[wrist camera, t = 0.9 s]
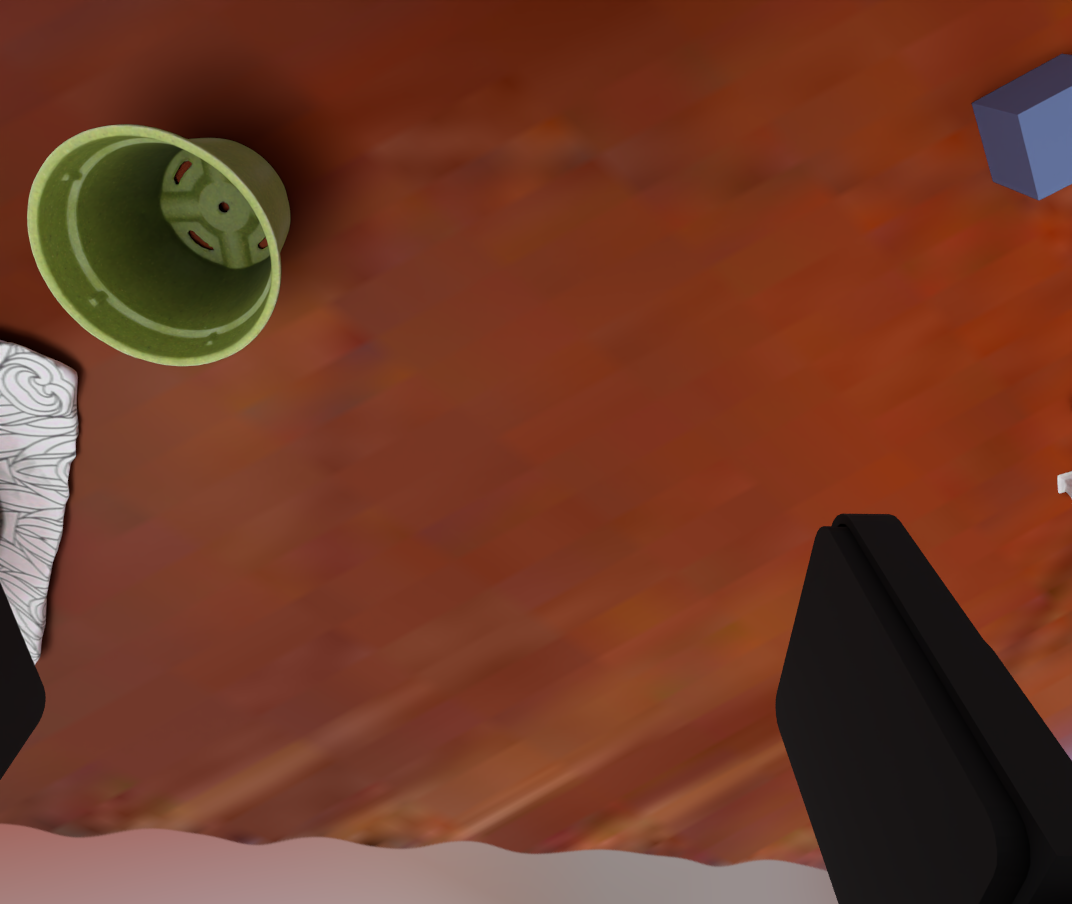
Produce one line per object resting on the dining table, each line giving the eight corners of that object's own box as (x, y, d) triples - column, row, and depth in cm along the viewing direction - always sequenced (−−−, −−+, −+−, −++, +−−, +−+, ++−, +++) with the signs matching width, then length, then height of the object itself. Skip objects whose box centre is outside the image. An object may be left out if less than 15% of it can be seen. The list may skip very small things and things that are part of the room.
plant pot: (187, 49, 34) (93, 65, 27) (365, 192, 38) (325, 243, 30) (93, 212, 38) (-14, 267, 31) (262, 332, 41) (204, 408, 34)
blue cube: (971, 102, 36) (1017, 114, 33) (1060, 53, 35) (1119, 60, 32) (992, 181, 38) (1038, 200, 34) (1078, 136, 37) (1135, 151, 33)
